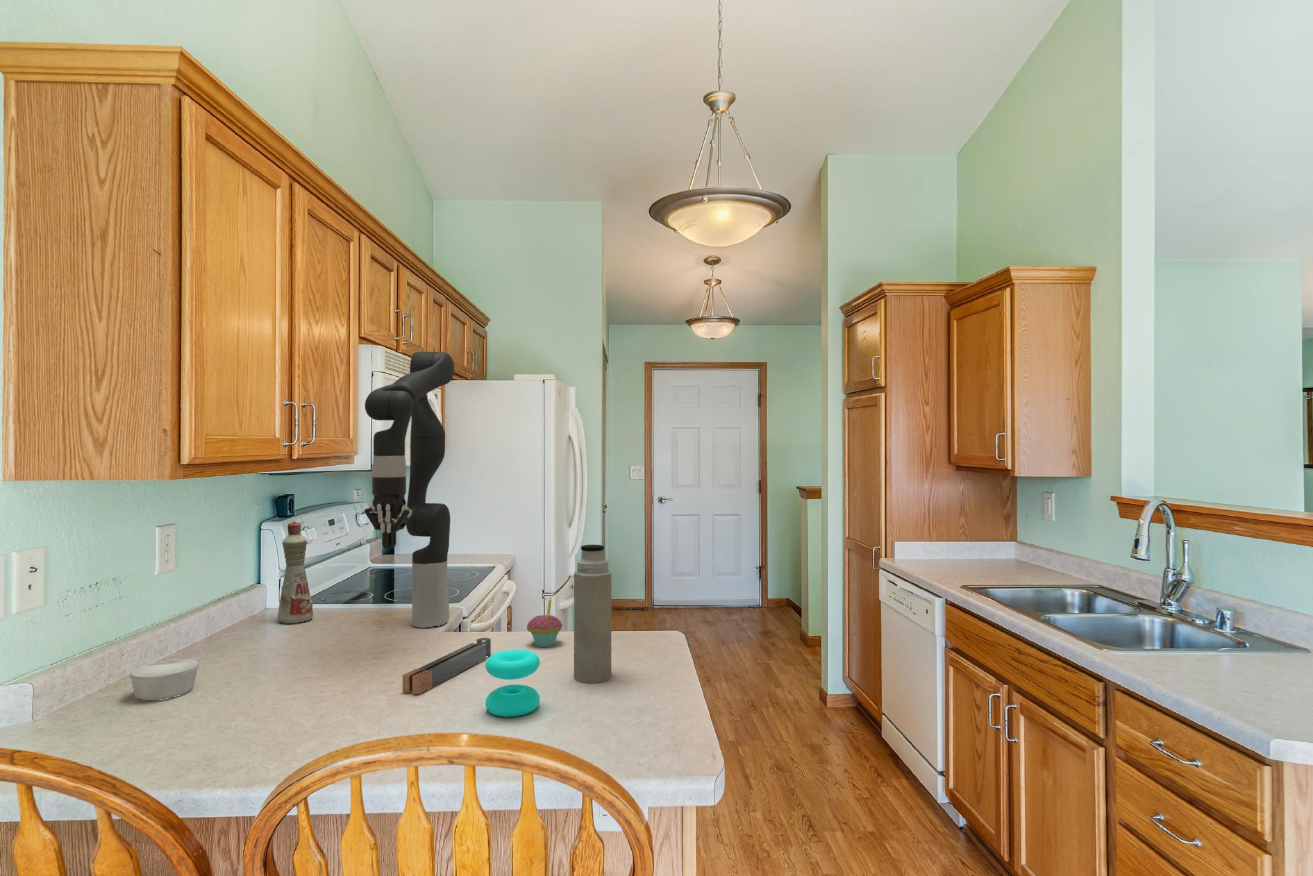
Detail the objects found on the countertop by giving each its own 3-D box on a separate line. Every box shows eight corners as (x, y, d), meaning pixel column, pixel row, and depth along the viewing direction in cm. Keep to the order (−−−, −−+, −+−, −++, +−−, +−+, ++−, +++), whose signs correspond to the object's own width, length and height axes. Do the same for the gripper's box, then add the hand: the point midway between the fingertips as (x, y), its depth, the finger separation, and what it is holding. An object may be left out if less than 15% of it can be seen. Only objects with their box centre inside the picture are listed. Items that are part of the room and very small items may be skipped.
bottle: (290, 616, 198) (290, 519, 199) (319, 617, 198) (320, 519, 198) (270, 624, 190) (270, 522, 190) (301, 625, 189) (301, 522, 189)
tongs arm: (471, 656, 160) (471, 642, 160) (477, 657, 160) (477, 642, 160) (402, 692, 138) (402, 675, 138) (409, 693, 137) (409, 675, 137)
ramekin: (192, 679, 146) (192, 654, 146) (204, 693, 138) (204, 667, 138) (125, 693, 138) (125, 666, 138) (134, 708, 130) (134, 680, 130)
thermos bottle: (594, 668, 153) (594, 541, 153) (619, 676, 147) (619, 545, 148) (566, 677, 147) (566, 545, 147) (591, 686, 142) (591, 549, 142)
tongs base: (481, 653, 164) (481, 637, 164) (494, 654, 162) (494, 638, 162) (404, 693, 137) (404, 674, 137) (419, 695, 136) (419, 676, 136)
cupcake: (568, 642, 172) (569, 594, 172) (546, 651, 165) (546, 601, 165) (542, 637, 177) (543, 590, 177) (519, 645, 170) (519, 596, 170)
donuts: (478, 652, 131) (528, 644, 137) (478, 705, 131) (528, 695, 136) (495, 667, 123) (548, 658, 128) (495, 723, 123) (548, 712, 128)
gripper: (422, 474, 165) (422, 547, 165) (377, 474, 169) (377, 544, 169) (401, 476, 158) (401, 552, 157) (355, 475, 162) (354, 549, 162)
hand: (389, 548), depth 163 cm, fingers closed
